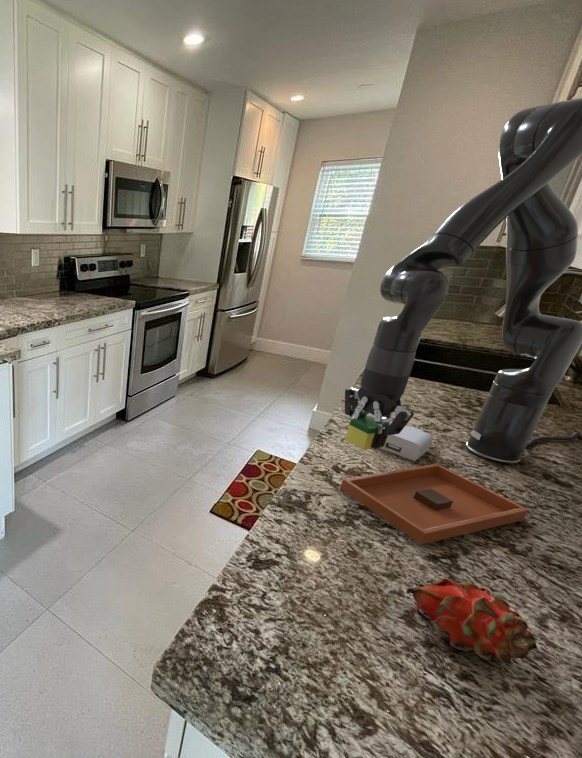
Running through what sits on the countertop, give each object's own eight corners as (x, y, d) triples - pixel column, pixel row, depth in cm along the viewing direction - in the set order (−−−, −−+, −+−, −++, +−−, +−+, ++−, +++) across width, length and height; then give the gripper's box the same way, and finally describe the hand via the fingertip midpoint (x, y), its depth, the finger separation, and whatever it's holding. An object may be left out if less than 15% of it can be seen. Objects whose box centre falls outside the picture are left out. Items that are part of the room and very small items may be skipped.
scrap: (428, 494, 80) (430, 488, 80) (450, 507, 77) (453, 501, 76) (413, 497, 79) (415, 491, 79) (435, 510, 76) (438, 504, 75)
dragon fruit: (527, 692, 48) (399, 632, 57) (536, 621, 51) (413, 575, 60) (541, 676, 43) (398, 613, 52) (549, 599, 46) (414, 552, 55)
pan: (432, 474, 88) (436, 463, 87) (522, 522, 74) (529, 509, 74) (339, 491, 82) (342, 479, 81) (419, 547, 68) (425, 533, 67)
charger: (436, 445, 101) (414, 463, 92) (392, 430, 108) (368, 446, 99) (442, 428, 99) (421, 445, 91) (398, 414, 106) (374, 428, 98)
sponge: (365, 436, 92) (371, 416, 91) (384, 446, 88) (391, 425, 87) (344, 439, 91) (350, 419, 89) (363, 449, 87) (369, 429, 85)
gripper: (438, 379, 78) (410, 456, 84) (369, 356, 91) (349, 425, 97) (409, 382, 76) (382, 461, 82) (342, 359, 89) (324, 428, 95)
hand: (364, 441), depth 90 cm, fingers closed on sponge, 4 cm apart
